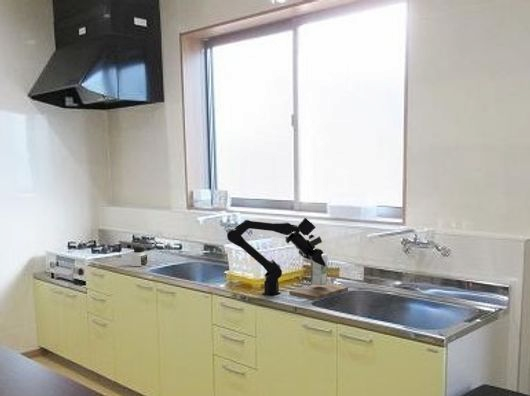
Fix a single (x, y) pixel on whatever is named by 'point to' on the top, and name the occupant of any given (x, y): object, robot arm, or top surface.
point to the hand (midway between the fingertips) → (321, 264)
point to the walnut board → (318, 291)
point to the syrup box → (319, 272)
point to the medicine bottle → (139, 257)
